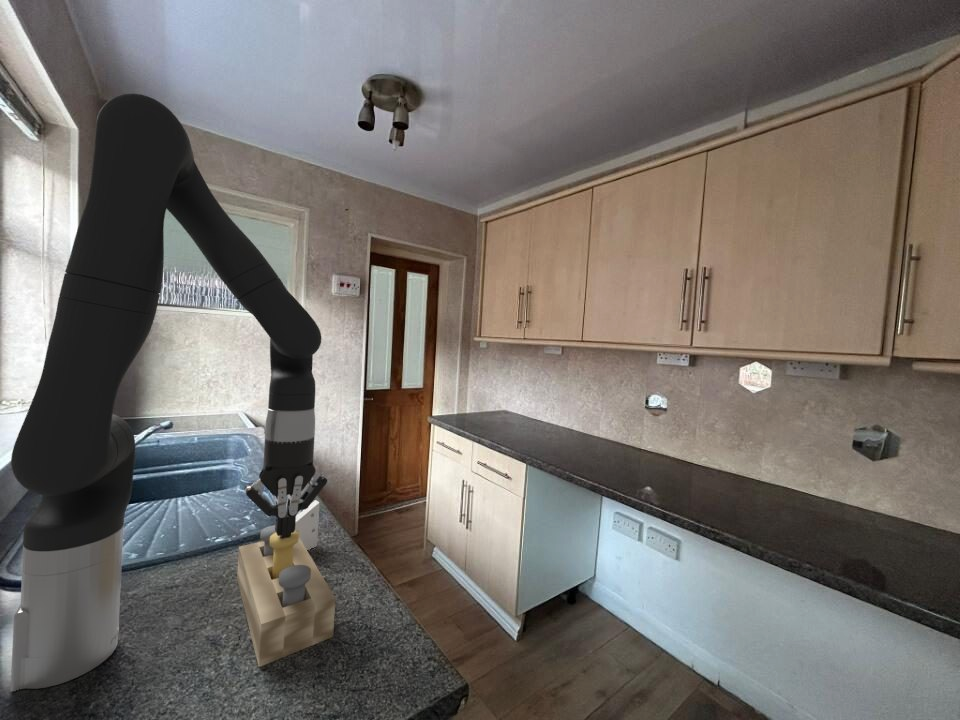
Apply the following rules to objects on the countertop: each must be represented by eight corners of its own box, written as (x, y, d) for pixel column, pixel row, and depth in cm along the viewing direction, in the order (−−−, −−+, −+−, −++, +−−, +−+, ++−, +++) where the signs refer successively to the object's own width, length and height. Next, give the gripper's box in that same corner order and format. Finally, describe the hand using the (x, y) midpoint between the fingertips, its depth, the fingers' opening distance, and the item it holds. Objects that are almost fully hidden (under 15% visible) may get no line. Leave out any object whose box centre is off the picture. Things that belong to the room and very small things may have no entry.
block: (258, 667, 52) (261, 624, 52) (237, 578, 71) (238, 546, 70) (333, 636, 58) (335, 598, 58) (295, 562, 77) (296, 533, 77)
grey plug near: (278, 646, 55) (282, 585, 55) (272, 627, 58) (276, 570, 58) (310, 633, 58) (314, 575, 58) (303, 616, 61) (306, 561, 61)
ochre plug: (269, 599, 61) (272, 545, 61) (264, 585, 65) (267, 533, 64) (298, 590, 64) (301, 538, 64) (292, 577, 67) (295, 527, 67)
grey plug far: (260, 588, 68) (262, 538, 67) (256, 575, 71) (258, 528, 71) (287, 580, 70) (289, 532, 70) (281, 568, 74) (284, 522, 74)
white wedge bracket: (335, 530, 86) (319, 502, 83) (296, 566, 80) (276, 538, 76) (327, 524, 89) (311, 497, 85) (288, 559, 82) (269, 531, 79)
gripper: (248, 443, 57) (242, 557, 57) (337, 435, 65) (331, 535, 65) (241, 433, 63) (236, 536, 63) (324, 427, 71) (319, 518, 71)
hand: (284, 535), depth 64 cm, fingers closed
